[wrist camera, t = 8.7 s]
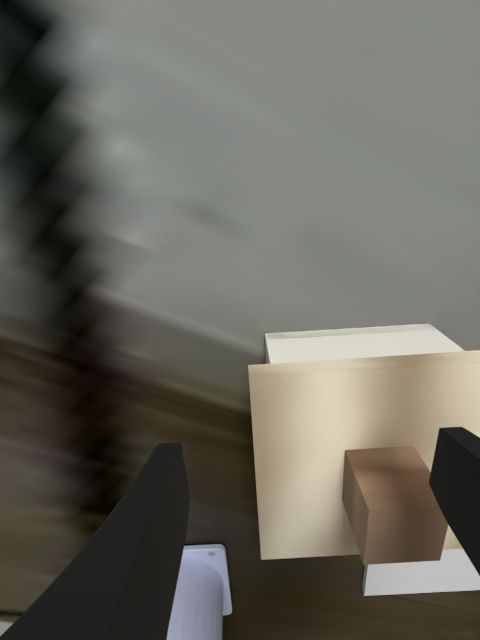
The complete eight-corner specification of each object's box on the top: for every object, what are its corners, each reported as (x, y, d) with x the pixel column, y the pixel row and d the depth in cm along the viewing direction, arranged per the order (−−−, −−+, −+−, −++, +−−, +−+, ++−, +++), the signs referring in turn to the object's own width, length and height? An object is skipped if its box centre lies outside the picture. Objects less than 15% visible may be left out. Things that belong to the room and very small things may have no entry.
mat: (362, 588, 28) (364, 595, 27) (376, 464, 23) (379, 470, 22) (525, 580, 28) (530, 587, 27) (576, 453, 23) (583, 459, 22)
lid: (259, 541, 19) (265, 629, 15) (248, 365, 15) (252, 428, 11) (463, 529, 19) (518, 615, 15) (509, 348, 15) (602, 406, 11)
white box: (269, 459, 23) (277, 522, 18) (264, 333, 19) (272, 377, 15) (408, 451, 22) (447, 513, 18) (429, 323, 19) (483, 364, 15)
